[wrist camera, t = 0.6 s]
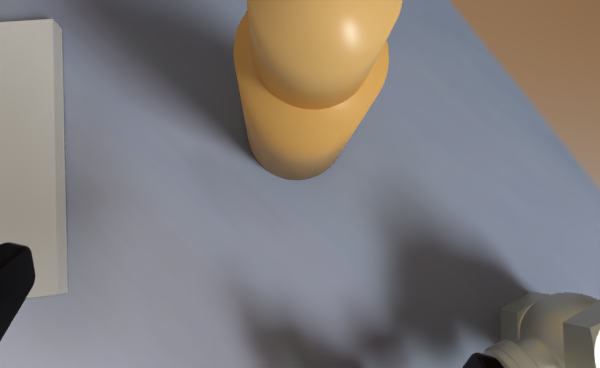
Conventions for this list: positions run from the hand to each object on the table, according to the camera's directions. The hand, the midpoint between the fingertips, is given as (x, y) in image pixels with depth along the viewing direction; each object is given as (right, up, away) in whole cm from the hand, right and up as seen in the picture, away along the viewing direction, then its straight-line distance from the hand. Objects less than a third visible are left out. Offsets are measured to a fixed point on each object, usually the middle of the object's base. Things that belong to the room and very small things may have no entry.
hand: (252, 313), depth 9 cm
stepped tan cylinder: (+1, +5, +15) cm, 15 cm away
